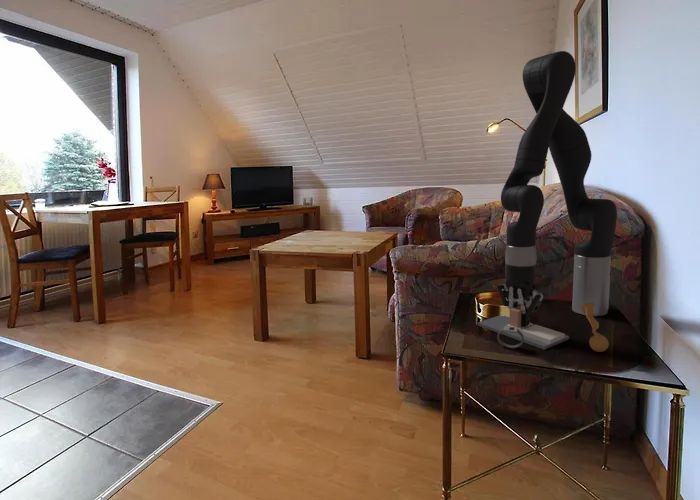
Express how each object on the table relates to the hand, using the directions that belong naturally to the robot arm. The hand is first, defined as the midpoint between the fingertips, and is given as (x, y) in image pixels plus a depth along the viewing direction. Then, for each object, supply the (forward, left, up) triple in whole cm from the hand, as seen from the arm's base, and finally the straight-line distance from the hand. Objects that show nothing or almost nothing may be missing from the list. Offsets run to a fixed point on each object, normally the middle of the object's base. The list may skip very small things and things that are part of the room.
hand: (519, 324), depth 116 cm
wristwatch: (+10, +5, -2) cm, 11 cm away
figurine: (-3, +18, -2) cm, 19 cm away
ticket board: (0, +1, -2) cm, 2 cm away
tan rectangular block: (0, 0, -2) cm, 2 cm away
